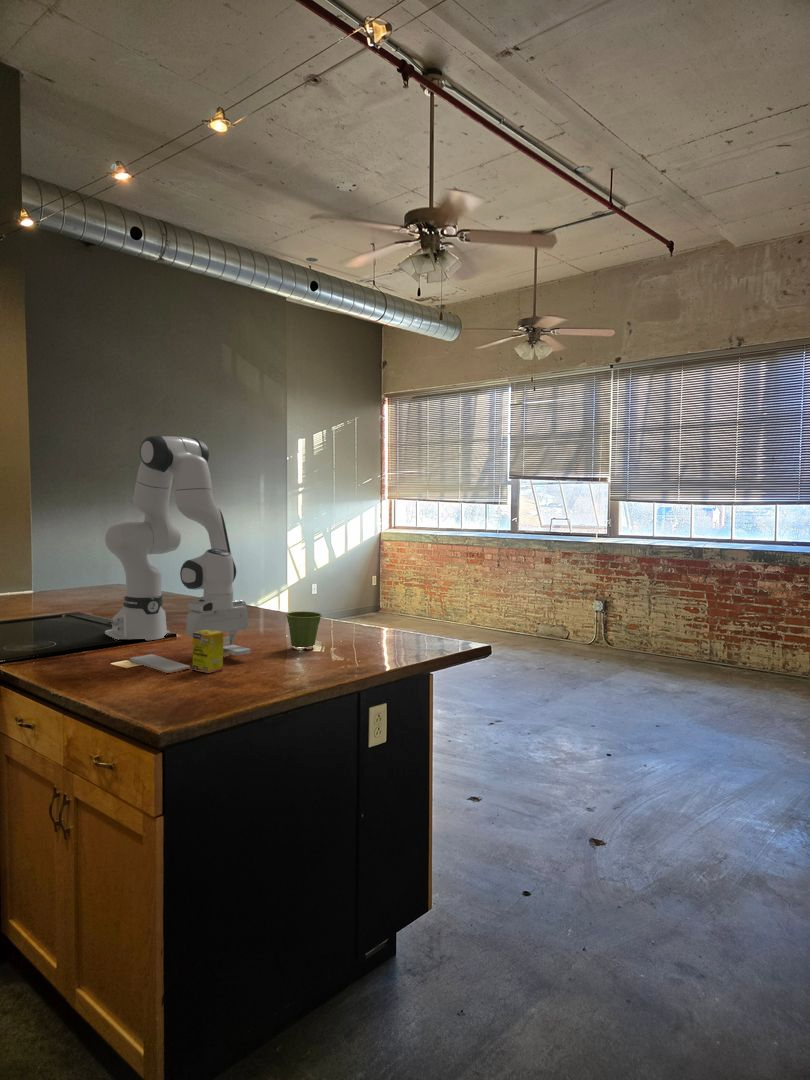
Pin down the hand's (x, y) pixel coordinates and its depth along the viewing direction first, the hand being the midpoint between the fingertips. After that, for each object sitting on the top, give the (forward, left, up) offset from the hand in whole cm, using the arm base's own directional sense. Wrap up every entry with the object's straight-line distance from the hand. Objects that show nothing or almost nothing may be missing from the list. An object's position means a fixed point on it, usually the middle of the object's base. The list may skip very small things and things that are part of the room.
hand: (217, 647), depth 211 cm
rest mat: (0, -20, -2) cm, 20 cm away
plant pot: (+11, +25, -3) cm, 27 cm away
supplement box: (+14, -13, -3) cm, 19 cm away
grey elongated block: (+4, 0, -2) cm, 5 cm away
